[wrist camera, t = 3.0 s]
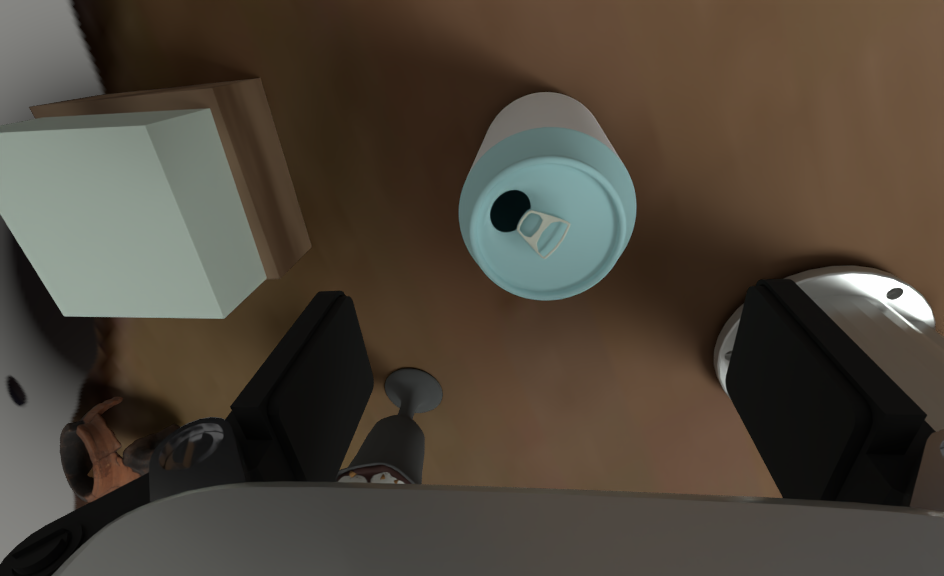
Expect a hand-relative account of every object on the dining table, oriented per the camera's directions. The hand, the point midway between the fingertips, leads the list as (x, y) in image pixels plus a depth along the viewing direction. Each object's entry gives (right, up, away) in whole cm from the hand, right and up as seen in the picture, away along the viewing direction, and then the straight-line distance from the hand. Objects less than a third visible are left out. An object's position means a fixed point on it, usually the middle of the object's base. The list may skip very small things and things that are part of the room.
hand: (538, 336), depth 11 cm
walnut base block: (-19, +9, +19) cm, 29 cm away
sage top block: (-20, +6, +15) cm, 26 cm away
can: (+3, +9, +16) cm, 19 cm away
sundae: (-7, -7, +27) cm, 29 cm away
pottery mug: (-31, -13, +35) cm, 48 cm away
